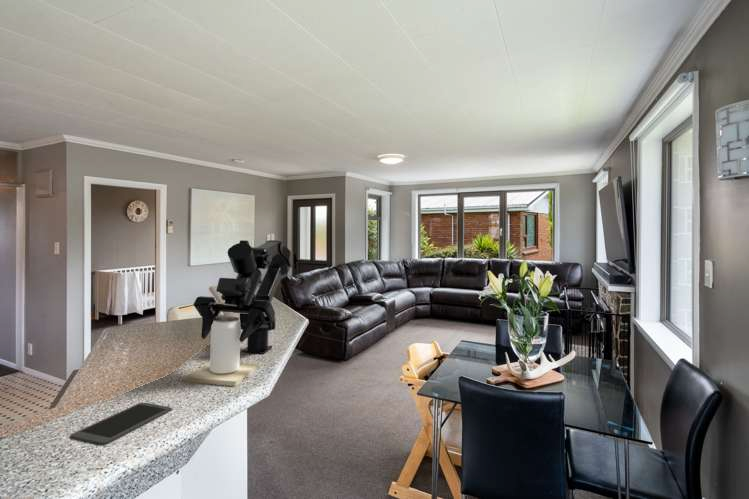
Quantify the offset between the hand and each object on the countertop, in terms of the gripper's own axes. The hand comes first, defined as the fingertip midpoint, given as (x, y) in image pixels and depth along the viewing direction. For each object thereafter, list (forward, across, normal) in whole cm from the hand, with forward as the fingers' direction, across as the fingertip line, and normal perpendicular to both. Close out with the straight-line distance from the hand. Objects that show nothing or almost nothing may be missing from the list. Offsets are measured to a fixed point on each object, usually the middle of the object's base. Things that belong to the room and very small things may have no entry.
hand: (221, 339), depth 91 cm
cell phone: (+24, -4, -11) cm, 26 cm away
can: (+4, 0, +7) cm, 8 cm away
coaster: (+5, 0, +7) cm, 9 cm away
